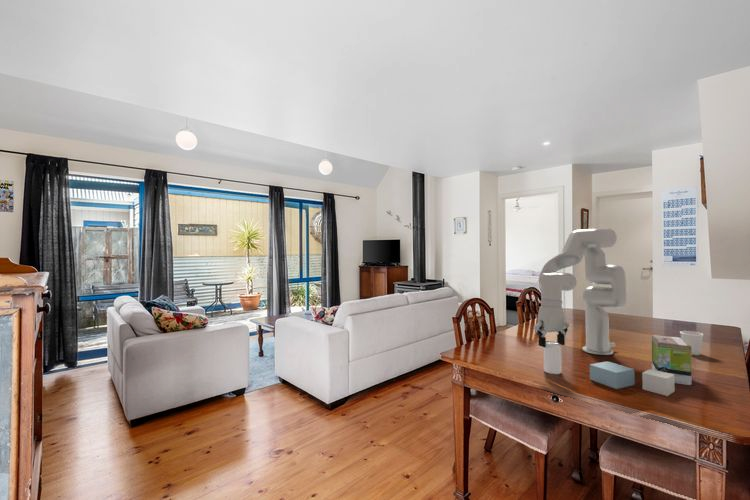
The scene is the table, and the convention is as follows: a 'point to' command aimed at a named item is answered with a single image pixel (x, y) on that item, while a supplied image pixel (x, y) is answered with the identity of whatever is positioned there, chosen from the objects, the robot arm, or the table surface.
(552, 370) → the can
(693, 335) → the dixie cup
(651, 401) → the table surface
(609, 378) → the pedestal block
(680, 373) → the tea box
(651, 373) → the grey block
